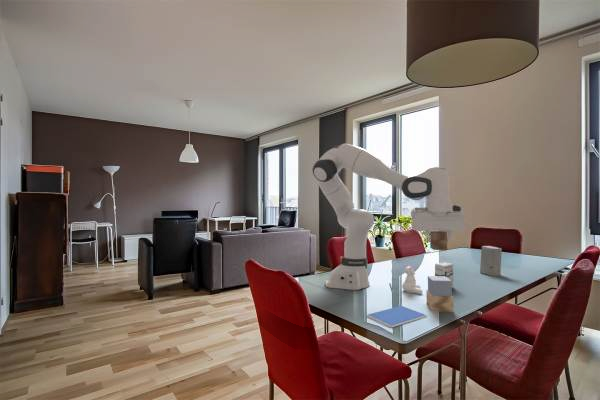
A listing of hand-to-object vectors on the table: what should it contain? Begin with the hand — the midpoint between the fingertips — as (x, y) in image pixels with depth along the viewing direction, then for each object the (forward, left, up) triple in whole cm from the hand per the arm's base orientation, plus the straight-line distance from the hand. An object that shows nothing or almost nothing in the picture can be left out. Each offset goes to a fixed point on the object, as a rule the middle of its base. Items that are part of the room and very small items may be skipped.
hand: (438, 241), depth 122 cm
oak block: (0, 0, -27) cm, 27 cm away
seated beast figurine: (-6, +22, -27) cm, 35 cm away
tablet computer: (-18, -11, -27) cm, 35 cm away
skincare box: (+46, +61, -27) cm, 81 cm away
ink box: (+11, +30, -27) cm, 42 cm away
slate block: (0, 0, -21) cm, 21 cm away
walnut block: (0, 0, -3) cm, 3 cm away
